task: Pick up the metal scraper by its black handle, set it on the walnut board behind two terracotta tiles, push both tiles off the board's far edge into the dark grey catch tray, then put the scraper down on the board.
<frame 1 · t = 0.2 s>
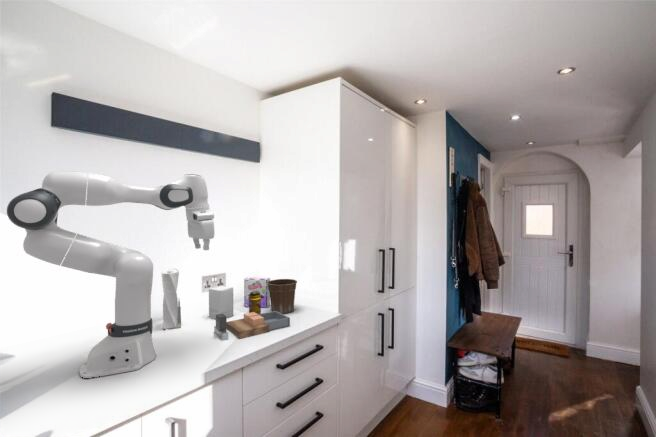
hand: (202, 249, 129), 38 cm above the worktop, tool pointing down, fingers open, 8 cm apart
condiment: (253, 316, 168), on the worktop
skyscraper: (171, 327, 150), on the worktop
tray: (272, 324, 153), on the worktop
scraper: (221, 336, 139), on the worktop
supplement box: (221, 317, 166), on the worktop
board: (247, 330, 146), on the worktop
tile 1: (251, 320, 150), point 3 cm above the worktop, touching board
candy box: (257, 306, 185), on the worktop
tile 2: (256, 323, 145), point 3 cm above the worktop, touching board
plant pot: (282, 311, 176), on the worktop
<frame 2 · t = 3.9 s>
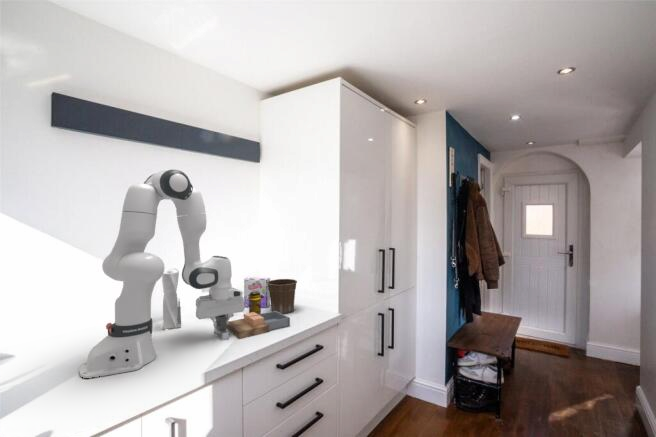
hand: (221, 325, 139), 5 cm above the worktop, tool pointing down, fingers closed on scraper, 3 cm apart
scraper: (221, 336, 139), on the worktop, touching gripper
everything else where it was.
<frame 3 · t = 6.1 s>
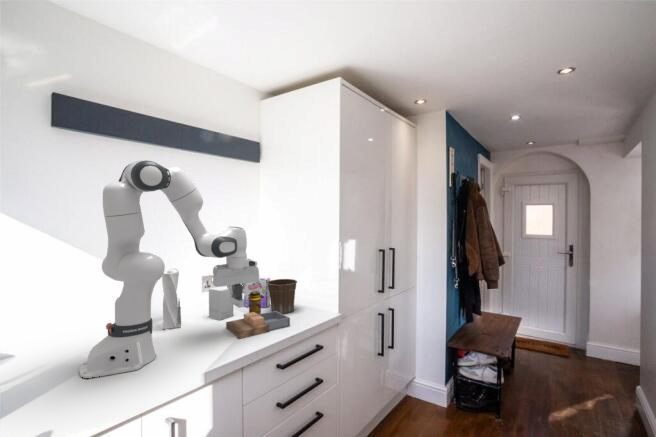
hand: (236, 294, 143), 17 cm above the worktop, tool pointing down, fingers closed on scraper, 3 cm apart
scraper: (236, 304, 143), point 12 cm above the worktop, touching gripper
everything else where it was.
when the fingers open (8 cm above the worktop, at t = 8.7 s): scraper stays where it is, resting on tile 1, tile 2.
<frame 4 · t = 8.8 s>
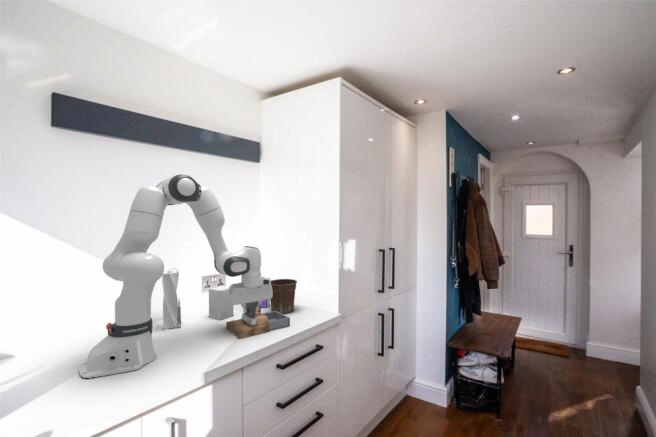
hand: (251, 311, 147), 8 cm above the worktop, tool pointing down, fingers open, 4 cm apart
scraper: (248, 322, 146), point 3 cm above the worktop, tilted 9°, touching gripper, tile 1, tile 2
tile 1: (254, 319, 151), point 3 cm above the worktop, touching board, scraper
tile 2: (260, 323, 146), point 3 cm above the worktop, touching board, scraper
everything else where it was.
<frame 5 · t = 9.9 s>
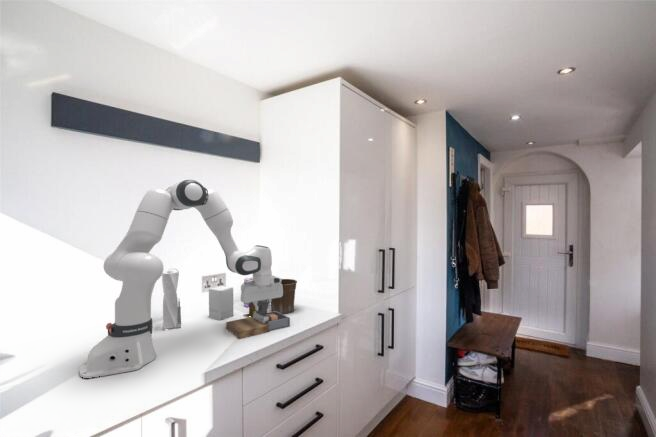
hand: (262, 309, 150), 8 cm above the worktop, tool pointing down, fingers closed on scraper, 3 cm apart
scraper: (260, 320, 150), point 3 cm above the worktop, tilted 10°, touching board, gripper, tile 1
tile 1: (264, 322, 155), point 1 cm above the worktop, touching scraper, tray
tile 2: (269, 321, 149), point 3 cm above the worktop, tilted 90°, touching tray
everything else where it was.
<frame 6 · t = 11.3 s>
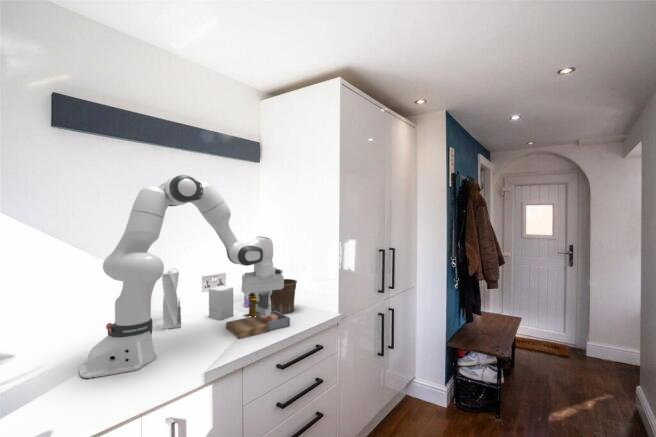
hand: (263, 300, 150), 12 cm above the worktop, tool pointing down, fingers closed on scraper, 3 cm apart
scraper: (262, 313, 150), point 6 cm above the worktop, touching gripper
tile 1: (265, 322, 155), point 1 cm above the worktop, touching tray
everything else where it was.
when the fingers open (9 cm above the worktop, at t = 14.5 s): scraper stays where it is, resting on board.
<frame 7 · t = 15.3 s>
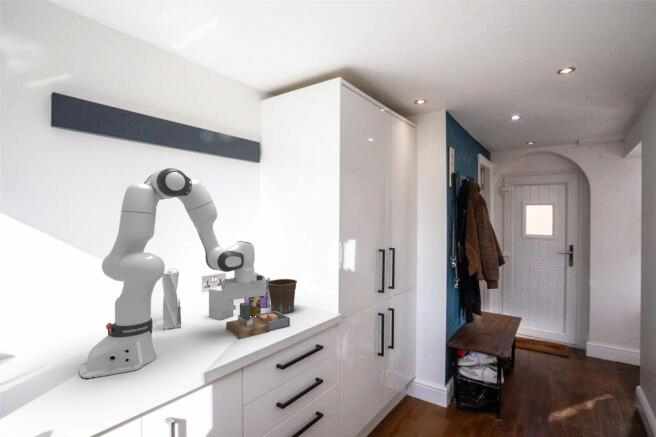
hand: (243, 307, 145), 10 cm above the worktop, tool pointing down, fingers open, 8 cm apart
scraper: (245, 323, 146), point 3 cm above the worktop, touching board
everything else where it was.
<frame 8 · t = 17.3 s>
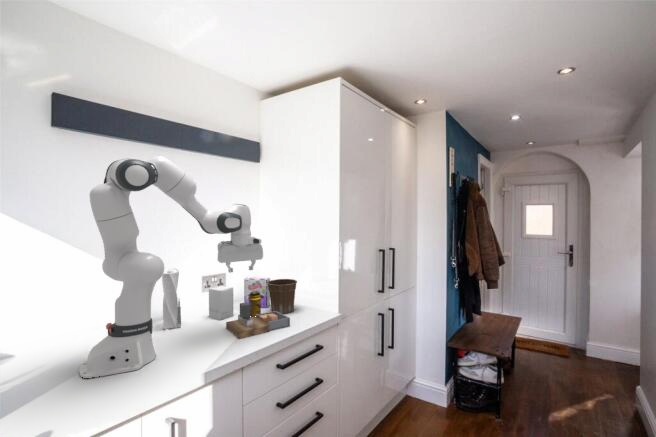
hand: (241, 271, 144), 27 cm above the worktop, tool pointing down, fingers open, 8 cm apart
nothing on the worktop moved.
at the end: tile 1 inside the target area (3.8 cm from its centre), point 0.6 cm above the worktop; tile 2 inside the target area (4.5 cm from its centre), point 3.1 cm above the worktop; the gripper is holding nothing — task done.
